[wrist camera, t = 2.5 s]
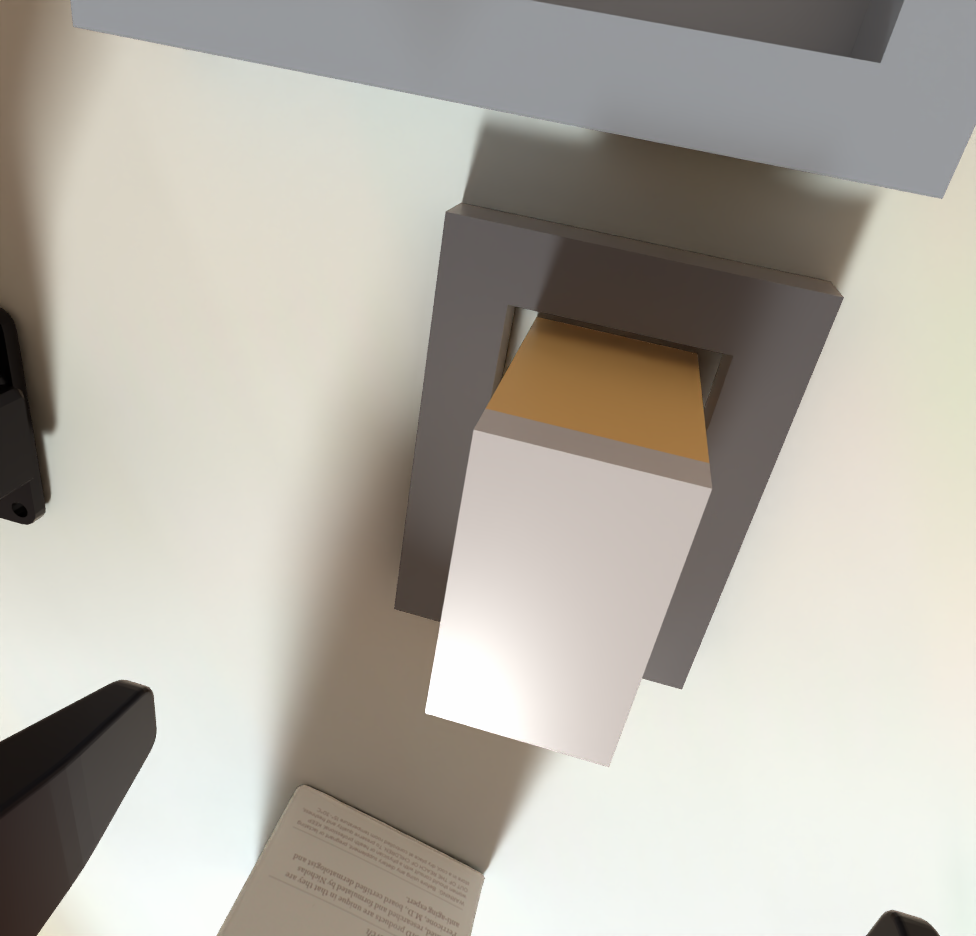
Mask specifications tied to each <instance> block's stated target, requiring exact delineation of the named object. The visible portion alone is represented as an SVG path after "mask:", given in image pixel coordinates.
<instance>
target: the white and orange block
mask: <svg viewBox="0 0 976 936" xmlns="http://www.w3.org/2000/svg"><path fill="white" fill-rule="evenodd" d="M711 491H712V482H711V473H710V464H709V455H708V446H707V437H706V427H705V418H704V409H703V400H702V391H701V381H700V372H699V363H698V354H697V353H693V352H689V351H684V350H680V349H676V348H671V347H667V346H662V345H658V344H654V343H649V342H645V341H641V340H636V339H632V338H627V337H623V336H619V335H614V334H610V333H606V332H601V331H597V330H592V329H588V328H584V327H579V326H575V325H571V324H566V323H562V322H557V321H553V320H549V319H544V318H540V317H537V318H536V319H535V321H534V323H533V325H532V326H531V328H530V330H529V332H528V334H527V335H526V337H525V339H524V341H523V342H522V344H521V346H520V348H519V350H518V351H517V353H516V355H515V357H514V359H513V360H512V362H511V364H510V366H509V367H508V369H507V371H506V373H505V375H504V376H503V378H502V380H501V382H500V384H499V385H498V387H497V389H496V391H495V392H494V394H493V396H492V398H491V400H490V401H489V403H488V405H487V407H486V408H485V410H484V412H483V414H482V416H481V417H480V419H479V421H478V423H477V425H476V426H475V428H474V430H473V436H472V442H471V448H470V454H469V459H468V465H467V471H466V477H465V483H464V488H463V494H462V500H461V506H460V512H459V517H458V523H457V529H456V535H455V541H454V547H453V552H452V558H451V564H450V570H449V576H448V581H447V587H446V593H445V599H444V605H443V610H442V616H441V622H440V628H439V634H438V639H437V645H436V651H435V657H434V663H433V669H432V674H431V680H430V686H429V692H428V698H427V703H426V709H425V713H427V714H430V715H433V716H437V717H440V718H444V719H447V720H450V721H454V722H457V723H461V724H464V725H467V726H471V727H474V728H478V729H481V730H484V731H488V732H491V733H495V734H498V735H501V736H505V737H508V738H512V739H515V740H518V741H522V742H525V743H528V744H532V745H535V746H539V747H542V748H545V749H549V750H552V751H556V752H559V753H562V754H566V755H569V756H573V757H576V758H579V759H583V760H586V761H590V762H593V763H596V764H600V765H603V766H607V767H609V765H610V763H611V760H612V757H613V755H614V752H615V749H616V747H617V744H618V741H619V739H620V736H621V733H622V730H623V728H624V725H625V722H626V720H627V717H628V714H629V712H630V709H631V706H632V704H633V701H634V698H635V695H636V693H637V690H638V687H639V685H640V682H641V679H642V677H643V674H644V671H645V668H646V666H647V663H648V660H649V658H650V655H651V652H652V650H653V647H654V644H655V642H656V639H657V636H658V633H659V631H660V628H661V625H662V623H663V620H664V617H665V615H666V612H667V609H668V607H669V604H670V601H671V598H672V596H673V593H674V590H675V588H676V585H677V582H678V580H679V577H680V574H681V572H682V569H683V566H684V563H685V561H686V558H687V555H688V553H689V550H690V547H691V545H692V542H693V539H694V537H695V534H696V531H697V528H698V526H699V523H700V520H701V518H702V515H703V512H704V510H705V507H706V504H707V502H708V499H709V496H710V493H711Z"/></svg>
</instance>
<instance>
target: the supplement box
mask: <svg viewBox="0 0 976 936" xmlns="http://www.w3.org/2000/svg"><path fill="white" fill-rule="evenodd" d="M484 879H485V878H484V875H483V874H482V873H480V872H478V871H476V870H474V869H473V868H471V867H469V866H467V865H465V864H463V863H461V862H459V861H457V860H455V859H453V858H452V857H450V856H448V855H446V854H444V853H442V852H440V851H438V850H436V849H434V848H432V847H430V846H428V845H426V844H424V843H422V842H420V841H418V840H416V839H415V838H413V837H411V836H409V835H406V834H404V833H402V832H400V831H398V830H396V829H395V828H393V827H391V826H389V825H387V824H385V823H383V822H381V821H379V820H377V819H375V818H373V817H371V816H369V815H367V814H365V813H363V812H361V811H359V810H357V809H355V808H353V807H351V806H348V805H346V804H344V803H342V802H340V801H338V800H337V799H335V798H333V797H331V796H329V795H327V794H325V793H323V792H321V791H318V790H316V789H314V788H312V787H309V786H306V785H301V786H299V787H298V788H297V789H296V790H295V792H294V794H293V796H292V798H291V799H290V801H289V803H288V805H287V807H286V809H285V810H284V812H283V814H282V816H281V818H280V820H279V821H278V823H277V825H276V827H275V829H274V831H273V833H272V834H271V836H270V838H269V840H268V842H267V844H266V846H265V847H264V849H263V851H262V853H261V855H260V857H259V858H258V860H257V862H256V864H255V866H254V868H253V870H252V871H251V873H250V875H249V877H248V879H247V881H246V882H245V884H244V886H243V888H242V890H241V892H240V893H239V895H238V897H237V899H236V901H235V903H234V905H233V906H232V908H231V910H230V912H229V914H228V916H227V917H226V919H225V921H224V923H223V925H222V927H221V928H220V930H219V932H218V934H217V936H471V932H472V927H473V922H474V918H475V914H476V910H477V906H478V902H479V897H480V893H481V889H482V885H483V882H484Z"/></svg>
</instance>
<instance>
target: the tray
mask: <svg viewBox="0 0 976 936" xmlns="http://www.w3.org/2000/svg"><path fill="white" fill-rule="evenodd" d="M71 10H72V19H73V27H77V28H82V29H87V30H92V31H97V32H102V33H107V34H113V35H118V36H123V37H128V38H133V39H138V40H143V41H148V42H153V43H158V44H163V45H168V46H173V47H178V48H183V49H188V50H193V51H198V52H203V53H208V54H214V55H219V56H224V57H229V58H234V59H239V60H244V61H249V62H254V63H259V64H264V65H269V66H274V67H279V68H284V69H289V70H294V71H299V72H304V73H309V74H315V75H320V76H325V77H330V78H335V79H340V80H345V81H350V82H355V83H360V84H365V85H370V86H375V87H380V88H385V89H390V90H395V91H400V92H405V93H410V94H416V95H421V96H426V97H431V98H436V99H441V100H446V101H451V102H456V103H461V104H466V105H471V106H476V107H481V108H486V109H491V110H496V111H501V112H506V113H511V114H517V115H522V116H527V117H532V118H537V119H542V120H547V121H552V122H557V123H562V124H567V125H572V126H577V127H582V128H587V129H592V130H597V131H602V132H607V133H612V134H618V135H623V136H628V137H633V138H638V139H643V140H648V141H653V142H658V143H663V144H668V145H673V146H678V147H683V148H688V149H693V150H698V151H703V152H708V153H713V154H719V155H724V156H729V157H734V158H739V159H744V160H749V161H754V162H759V163H764V164H769V165H774V166H779V167H784V168H789V169H794V170H799V171H804V172H809V173H814V174H820V175H825V176H830V177H835V178H840V179H845V180H850V181H855V182H860V183H865V184H870V185H875V186H880V187H885V188H890V189H895V190H900V191H905V192H910V193H915V194H921V195H926V196H931V197H936V198H941V199H942V198H943V196H944V194H945V192H946V189H947V187H948V185H949V183H950V180H951V178H952V176H953V174H954V172H955V169H956V167H957V165H958V163H959V161H960V158H961V156H962V154H963V152H964V149H965V147H966V145H967V143H968V141H969V138H970V136H971V134H972V132H973V129H974V127H975V125H976V0H71Z"/></svg>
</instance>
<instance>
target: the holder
mask: <svg viewBox="0 0 976 936" xmlns="http://www.w3.org/2000/svg"><path fill="white" fill-rule="evenodd" d="M843 298H844V297H843V296H842V295H841V293H840V292H839V291H838V290H837V289H836V287H835V286H834V285H833V284H832V283H831V282H830V281H825V280H820V279H815V278H811V277H806V276H801V275H797V274H792V273H787V272H783V271H778V270H773V269H769V268H764V267H759V266H755V265H750V264H745V263H741V262H736V261H731V260H727V259H722V258H717V257H712V256H708V255H703V254H698V253H694V252H689V251H684V250H680V249H675V248H670V247H666V246H661V245H656V244H652V243H647V242H642V241H638V240H633V239H628V238H623V237H619V236H614V235H609V234H605V233H600V232H595V231H591V230H586V229H581V228H577V227H572V226H567V225H563V224H558V223H553V222H549V221H544V220H539V219H534V218H530V217H525V216H520V215H516V214H511V213H506V212H502V211H497V210H492V209H488V208H483V207H478V206H474V205H469V204H464V203H460V204H458V205H456V206H455V207H453V208H451V209H450V210H448V211H446V214H445V221H444V229H443V237H442V245H441V252H440V260H439V268H438V275H437V283H436V291H435V299H434V306H433V314H432V322H431V329H430V337H429V345H428V353H427V360H426V368H425V376H424V383H423V391H422V399H421V407H420V414H419V422H418V430H417V437H416V445H415V453H414V461H413V468H412V476H411V484H410V492H409V499H408V507H407V515H406V522H405V530H404V538H403V546H402V553H401V561H400V569H399V576H398V584H397V592H396V600H395V607H394V609H396V610H400V611H403V612H407V613H410V614H414V615H418V616H421V617H425V618H428V619H432V620H435V621H439V622H441V616H442V610H443V605H444V599H445V593H446V587H447V581H448V576H449V570H450V564H451V558H452V552H453V547H454V541H455V535H456V529H457V523H458V517H459V512H460V506H461V500H462V494H463V488H464V483H465V477H466V471H467V465H468V459H469V454H470V448H471V442H472V436H473V430H474V428H475V426H476V425H477V423H478V421H479V419H480V417H481V416H482V414H483V412H484V410H485V408H486V407H487V405H488V403H489V401H490V400H491V398H492V396H493V394H494V392H495V391H496V389H497V387H498V385H499V384H500V382H501V380H502V375H503V370H504V364H505V359H506V354H507V348H508V343H509V337H510V332H511V327H512V321H513V316H514V311H515V306H516V307H521V308H525V309H530V310H534V311H538V312H543V313H547V314H552V315H556V316H560V317H565V318H569V319H573V320H578V321H582V322H587V323H591V324H595V325H600V326H604V327H609V328H613V329H617V330H622V331H626V332H631V333H635V334H639V335H644V336H648V337H653V338H657V339H661V340H666V341H670V342H674V343H679V344H683V345H688V346H692V347H696V348H701V349H705V350H710V351H714V352H718V353H723V356H722V359H721V362H720V365H719V367H718V370H717V373H716V376H715V379H714V382H713V385H712V388H711V391H710V394H709V397H708V400H707V402H706V405H705V408H704V418H705V427H706V437H707V446H708V455H709V464H710V473H711V482H712V491H711V493H710V496H709V499H708V502H707V504H706V507H705V510H704V512H703V515H702V518H701V520H700V523H699V526H698V528H697V531H696V534H695V537H694V539H693V542H692V545H691V547H690V550H689V553H688V555H687V558H686V561H685V563H684V566H683V569H682V572H681V574H680V577H679V580H678V582H677V585H676V588H675V590H674V593H673V596H672V598H671V601H670V604H669V607H668V609H667V612H666V615H665V617H664V620H663V623H662V625H661V628H660V631H659V633H658V636H657V639H656V642H655V644H654V647H653V650H652V652H651V655H650V658H649V660H648V663H647V666H646V668H645V671H644V674H643V677H642V678H643V679H646V680H650V681H654V682H657V683H661V684H664V685H668V686H671V687H675V688H679V689H682V688H683V685H684V683H685V680H686V678H687V676H688V673H689V671H690V668H691V666H692V663H693V661H694V659H695V656H696V654H697V651H698V649H699V647H700V644H701V642H702V639H703V637H704V634H705V632H706V630H707V627H708V625H709V622H710V620H711V617H712V615H713V613H714V610H715V608H716V605H717V603H718V601H719V598H720V596H721V593H722V591H723V588H724V586H725V584H726V581H727V579H728V576H729V574H730V571H731V569H732V567H733V564H734V562H735V559H736V557H737V555H738V552H739V550H740V547H741V545H742V542H743V540H744V538H745V535H746V533H747V530H748V528H749V525H750V523H751V521H752V518H753V516H754V513H755V511H756V509H757V506H758V504H759V501H760V499H761V496H762V494H763V492H764V489H765V487H766V484H767V482H768V479H769V477H770V475H771V472H772V470H773V467H774V465H775V463H776V460H777V458H778V455H779V453H780V450H781V448H782V446H783V443H784V441H785V438H786V436H787V433H788V431H789V429H790V426H791V424H792V421H793V419H794V417H795V414H796V412H797V409H798V407H799V404H800V402H801V400H802V397H803V395H804V392H805V390H806V387H807V385H808V383H809V380H810V378H811V375H812V373H813V371H814V368H815V366H816V363H817V361H818V358H819V356H820V354H821V351H822V349H823V346H824V344H825V341H826V339H827V337H828V334H829V332H830V329H831V327H832V325H833V322H834V320H835V317H836V315H837V312H838V310H839V308H840V305H841V303H842V300H843Z"/></svg>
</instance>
